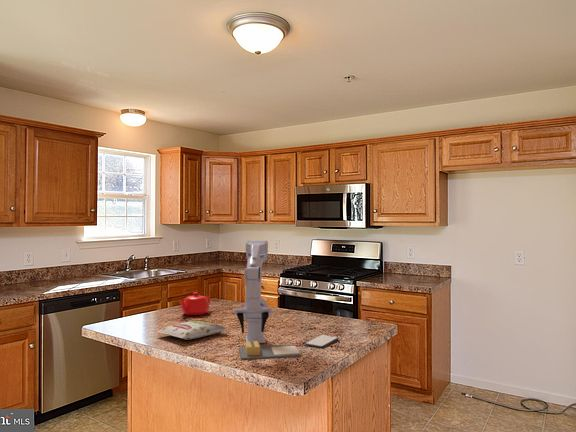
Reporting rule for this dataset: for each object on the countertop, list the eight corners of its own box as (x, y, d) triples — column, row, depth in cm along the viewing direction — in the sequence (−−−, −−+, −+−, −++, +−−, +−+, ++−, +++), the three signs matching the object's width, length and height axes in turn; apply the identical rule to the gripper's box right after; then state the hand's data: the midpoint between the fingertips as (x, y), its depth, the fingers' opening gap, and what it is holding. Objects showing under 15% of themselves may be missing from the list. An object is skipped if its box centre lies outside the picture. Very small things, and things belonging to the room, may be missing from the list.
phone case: (322, 350, 172) (339, 340, 185) (322, 346, 172) (339, 337, 185) (303, 347, 176) (322, 337, 190) (303, 343, 176) (321, 334, 190)
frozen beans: (229, 321, 194) (183, 331, 175) (229, 334, 194) (183, 345, 175) (201, 316, 208) (156, 325, 189) (201, 328, 208) (156, 338, 189)
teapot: (199, 309, 251) (199, 288, 251) (219, 312, 243) (219, 290, 243) (167, 316, 230) (168, 294, 230) (188, 320, 222) (188, 297, 222)
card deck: (245, 349, 169) (245, 341, 169) (257, 348, 170) (257, 340, 170) (246, 355, 161) (247, 347, 161) (259, 354, 162) (260, 346, 162)
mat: (238, 348, 171) (238, 347, 171) (293, 346, 175) (293, 344, 175) (240, 359, 157) (240, 358, 157) (301, 356, 162) (301, 354, 162)
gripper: (234, 299, 160) (234, 335, 160) (272, 298, 163) (272, 333, 163) (233, 296, 167) (233, 330, 167) (270, 295, 170) (269, 329, 170)
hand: (252, 331), depth 165 cm, fingers open, 7 cm apart
